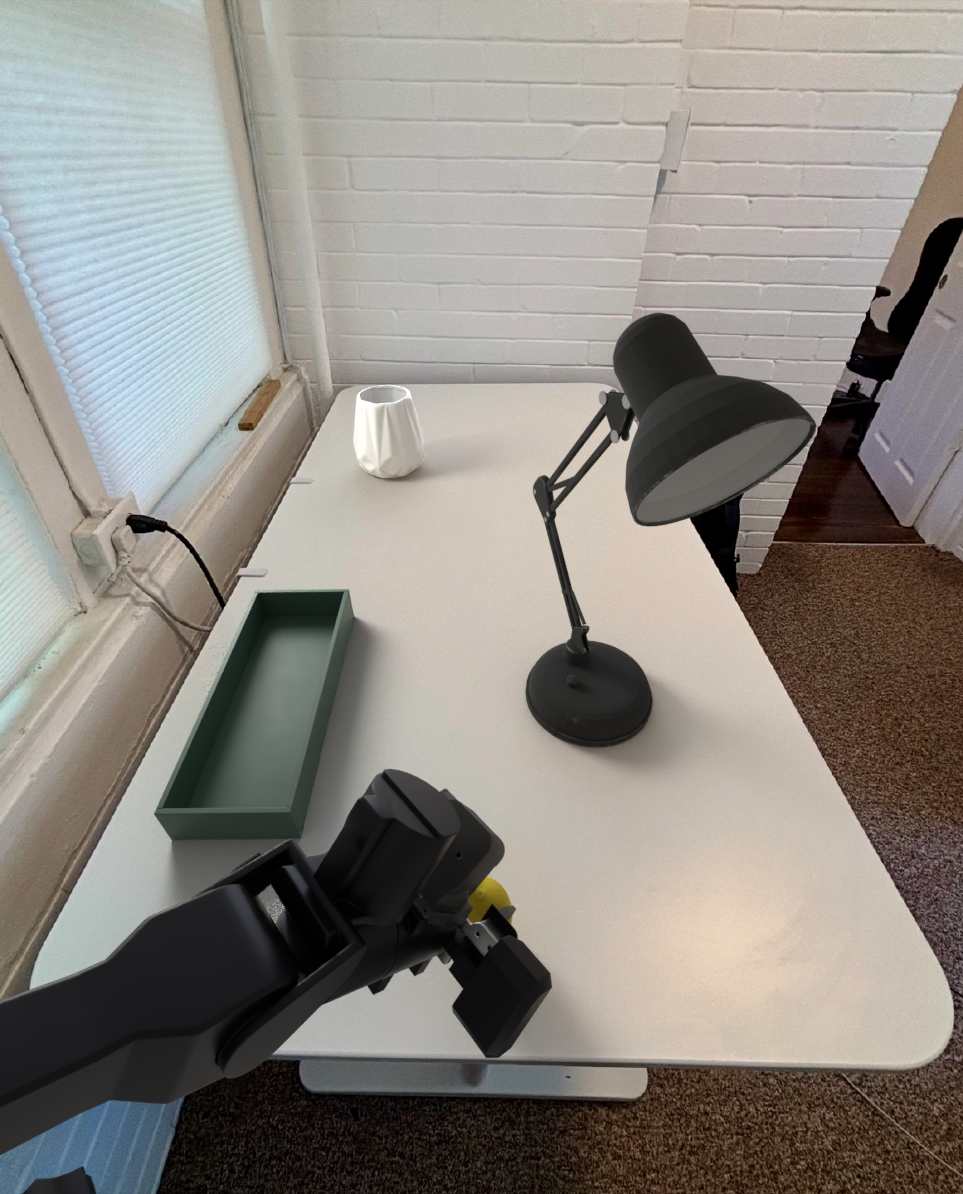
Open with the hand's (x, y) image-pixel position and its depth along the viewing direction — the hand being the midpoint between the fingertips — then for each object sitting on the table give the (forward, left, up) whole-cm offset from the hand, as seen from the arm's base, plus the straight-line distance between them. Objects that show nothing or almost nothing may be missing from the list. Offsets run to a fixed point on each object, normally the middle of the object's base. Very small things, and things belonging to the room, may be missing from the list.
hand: (492, 889), depth 50 cm
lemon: (-1, +1, -7) cm, 7 cm away
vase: (+74, +53, -7) cm, 91 cm away
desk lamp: (+29, -1, -7) cm, 30 cm away
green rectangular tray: (+13, +34, -7) cm, 37 cm away
